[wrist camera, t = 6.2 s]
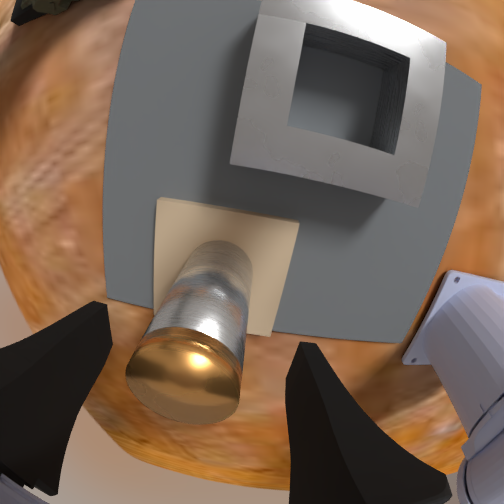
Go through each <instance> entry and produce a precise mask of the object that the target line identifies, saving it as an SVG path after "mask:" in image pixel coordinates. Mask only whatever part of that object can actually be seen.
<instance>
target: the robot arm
mask: <svg viewBox="0 0 504 504" xmlns="http://www.w3.org/2000/svg"><path fill="white" fill-rule="evenodd" d="M456 277H457V278H456ZM455 278H456V279H455ZM454 279H455V280H454ZM112 345H113V342H112V336H111V330H110V323H109V316H108V308H107V304H103V303H100V302H96V301H92V302H90V303H88V304H87V305H85V306H83V307H81V308H80V309H78V310H76V311H74V312H73V313H71V314H69V315H68V316H66V317H64V318H62V319H61V320H59V321H57V322H55V323H54V324H52V325H50V326H48V327H46V328H45V329H43V330H41V331H39V332H37V333H35V334H33V335H31V336H29V337H27V338H25V339H23V340H21V341H19V342H16V343H14V344H11V345H9V346H6V347H3V348H0V504H49V503H47V502H45V501H43V500H42V499H40V498H38V497H37V496H35V495H33V494H32V493H30V492H28V491H27V490H25V489H24V488H23V486H24V484H25V485H26V486H28V487H29V488H31V489H33V488H34V487H35V488H37V489H39V490H40V491H42V492H44V493H46V494H47V495H49V496H54V495H57V494H58V487H59V480H60V474H61V468H62V464H63V459H64V455H65V451H66V447H67V444H68V441H69V438H70V434H71V431H72V428H73V426H74V423H75V420H76V417H77V415H78V413H79V411H80V408H81V406H82V404H83V403H84V401H85V399H86V397H87V395H88V394H89V392H90V390H91V388H92V386H93V385H94V383H95V381H96V379H97V377H98V376H99V374H100V372H101V370H102V369H103V367H104V365H105V362H106V360H107V358H108V355H109V353H110V350H111V348H112ZM402 362H403V364H404V365H430V364H431V365H432V366H433V368H434V370H435V372H436V374H437V376H438V377H439V379H440V381H441V383H442V385H443V387H444V389H445V390H446V392H447V394H448V396H449V398H450V400H451V402H452V404H453V406H454V408H455V410H456V412H457V414H458V416H459V418H460V420H461V422H462V425H463V427H464V429H465V431H466V433H467V435H468V438H469V439H468V440H467V441H466V443H465V444H463V445H462V447H461V448H462V450H463V453H464V455H465V458H464V459H463V461H462V463H461V464H460V467H459V470H458V474H457V494H458V499H459V502H460V504H504V282H503V281H499V280H494V279H490V278H486V277H482V276H477V275H473V274H469V273H464V272H460V271H455V270H449V271H448V272H447V273H446V274H445V276H444V278H443V280H442V283H441V285H440V287H439V289H438V292H437V294H436V296H435V298H434V300H433V302H432V304H431V306H430V308H429V310H428V312H427V314H426V316H425V318H424V320H423V322H422V324H421V326H420V328H419V329H418V331H417V333H416V335H415V337H414V338H413V340H412V342H411V344H410V345H409V347H408V349H407V351H406V352H405V354H404V356H403V357H402ZM285 404H286V415H287V424H288V434H289V443H290V455H291V473H290V494H289V504H444V503H445V502H447V501H448V500H449V499H450V498H451V497H452V493H451V490H450V486H449V483H448V480H447V477H446V474H444V473H442V472H440V471H438V470H436V469H435V468H433V467H431V466H429V465H427V464H426V463H424V462H422V461H421V460H419V459H418V458H416V457H415V456H413V455H412V454H410V453H409V452H408V451H406V450H405V449H404V448H402V447H401V446H400V445H398V444H397V443H396V442H395V441H394V440H393V439H391V438H390V437H389V436H388V435H387V434H386V433H385V432H383V431H382V430H381V429H380V428H379V427H378V426H377V425H376V424H375V423H374V422H373V421H372V420H371V418H370V417H369V416H368V415H367V414H366V413H365V412H364V411H363V410H362V409H361V407H360V406H359V405H358V404H357V402H356V401H355V400H354V399H353V397H352V396H351V395H350V393H349V392H348V391H347V389H346V388H345V387H344V385H343V384H342V382H341V381H340V379H339V378H338V377H337V375H336V374H335V372H334V371H333V369H332V367H331V366H330V364H329V363H328V361H327V360H326V358H325V357H324V355H323V353H322V352H321V350H320V349H319V347H318V346H317V344H316V343H308V342H300V343H299V345H298V348H297V351H296V353H295V356H294V359H293V361H292V364H291V366H290V369H289V372H288V374H287V377H286V389H285Z"/></svg>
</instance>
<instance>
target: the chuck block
mask: <svg viewBox="0 0 504 504" xmlns="http://www.w3.org/2000/svg"><path fill="white" fill-rule="evenodd" d="M302 46H307V47H311V48H315V49H319V50H323V51H327V52H330V53H334V54H337V55H341V56H344V57H347V58H351V59H354V60H357V61H360V62H363V63H366V64H368V65H371V66H374V67H377V68H379V69H382V70H383V75H382V81H381V88H380V94H379V100H378V105H377V111H376V116H375V122H374V127H373V132H372V137H371V141H370V146H369V147H368V146H364V145H361V144H358V143H354V142H351V141H347V140H344V139H340V138H336V137H332V136H329V135H325V134H321V133H317V132H312V131H308V130H304V129H299V128H295V127H290V126H287V122H288V117H289V112H290V107H291V102H292V96H293V91H294V86H295V81H296V75H297V70H298V65H299V59H300V54H301V49H302ZM445 61H446V42H444V41H442V40H441V39H439V38H437V37H435V36H433V35H432V34H430V33H428V32H426V31H424V30H422V29H420V28H418V27H416V26H414V25H412V24H410V23H408V22H406V21H403V20H401V19H399V18H397V17H394V16H392V15H390V14H387V13H385V12H382V11H380V10H377V9H375V8H372V7H369V6H367V5H364V4H361V3H358V2H355V1H352V0H262V2H261V6H260V10H259V15H258V19H257V23H256V28H255V33H254V37H253V42H252V47H251V51H250V56H249V61H248V66H247V71H246V76H245V81H244V86H243V91H242V97H241V102H240V107H239V113H238V118H237V124H236V129H235V135H234V141H233V147H232V152H231V158H230V164H232V165H238V166H244V167H250V168H256V169H261V170H267V171H272V172H277V173H282V174H287V175H292V176H297V177H302V178H306V179H311V180H316V181H320V182H324V183H329V184H333V185H337V186H341V187H345V188H349V189H353V190H357V191H361V192H365V193H368V194H372V195H376V196H379V197H383V198H386V199H390V200H393V201H397V202H400V203H404V204H407V205H410V206H413V207H417V208H418V207H419V204H420V201H421V197H422V193H423V190H424V186H425V182H426V178H427V174H428V170H429V166H430V162H431V157H432V153H433V148H434V143H435V138H436V133H437V127H438V121H439V115H440V108H441V101H442V93H443V85H444V74H445Z"/></svg>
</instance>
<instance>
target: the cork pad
mask: <svg viewBox="0 0 504 504" xmlns="http://www.w3.org/2000/svg"><path fill="white" fill-rule="evenodd" d="M298 229H299V221H298V220H295V219H289V218H284V217H279V216H274V215H268V214H263V213H257V212H252V211H246V210H240V209H234V208H228V207H222V206H216V205H210V204H204V203H198V202H191V201H185V200H178V199H171V198H165V197H160V198H159V199H157V208H156V223H155V244H154V315H155V314H156V313H157V311H158V309H159V307H160V306H161V304H162V302H163V301H164V299H165V297H166V295H167V294H168V292H169V290H170V289H171V287H172V285H173V284H174V282H175V280H176V279H177V277H178V275H179V274H180V272H181V270H182V269H183V267H184V265H185V264H186V262H187V261H188V259H189V257H190V256H191V254H192V252H193V251H194V250H195V249H196V248H197V247H198V246H200V245H201V244H203V243H205V242H208V241H213V240H223V241H227V242H231V243H233V244H235V245H237V246H238V247H240V248H241V249H242V250H243V251H244V252H245V253H246V254H247V256H248V257H249V259H250V261H251V264H252V268H253V278H252V287H251V296H250V306H249V315H248V324H247V333H248V334H255V335H262V336H268V337H270V335H271V332H272V328H273V325H274V321H275V317H276V314H277V310H278V306H279V303H280V299H281V295H282V292H283V288H284V284H285V280H286V276H287V273H288V269H289V265H290V261H291V257H292V253H293V249H294V245H295V241H296V237H297V233H298Z"/></svg>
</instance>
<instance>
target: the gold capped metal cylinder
mask: <svg viewBox="0 0 504 504" xmlns="http://www.w3.org/2000/svg"><path fill="white" fill-rule="evenodd" d="M252 278H253V268H252V264H251V261H250V259H249V257H248V256H247V254H246V253H245V252H244V251H243V250H242V249H241V248H240V247H238V246H237V245H235V244H233V243H231V242H227V241H223V240H213V241H208V242H205V243H203V244H201V245H200V246H198V247H197V248H196V249H195V250H194V251H193V252H192V254H191V256H190V257H189V259H188V261H187V262H186V264H185V265H184V267H183V269H182V270H181V272H180V274H179V275H178V277H177V279H176V280H175V282H174V284H173V285H172V287H171V289H170V290H169V292H168V294H167V295H166V297H165V299H164V301H163V302H162V304H161V306H160V307H159V309H158V311H157V313H156V314H155V316H154V318H153V320H152V321H151V323H150V325H149V327H148V328H147V330H146V332H145V334H144V336H143V337H142V339H141V341H140V343H139V345H138V346H137V348H136V350H135V352H134V354H133V355H132V357H131V359H130V361H129V363H128V365H127V367H126V380H127V383H128V386H129V388H130V389H131V391H132V392H133V394H134V395H135V396H136V397H137V399H138V400H139V401H141V402H142V403H143V404H144V405H145V406H146V407H148V408H149V409H151V410H152V411H154V412H156V413H158V414H160V415H162V416H164V417H166V418H169V419H172V420H175V421H178V422H182V423H188V424H211V423H216V422H220V421H222V420H225V419H226V418H228V417H230V416H231V415H232V414H233V413H234V412H235V411H236V409H237V407H238V404H239V398H240V389H241V380H242V371H243V362H244V352H245V343H246V334H247V324H248V315H249V306H250V296H251V287H252Z"/></svg>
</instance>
